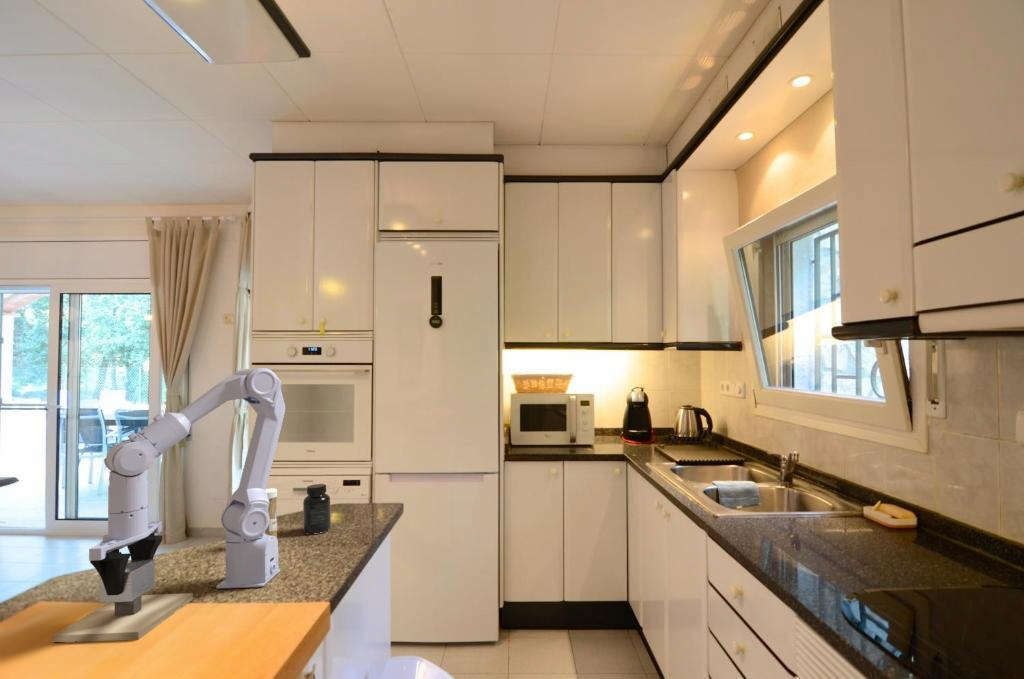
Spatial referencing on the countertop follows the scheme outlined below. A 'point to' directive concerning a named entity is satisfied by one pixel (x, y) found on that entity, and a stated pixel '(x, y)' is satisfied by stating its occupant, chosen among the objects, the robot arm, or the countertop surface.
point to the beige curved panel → (124, 619)
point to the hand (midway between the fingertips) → (128, 586)
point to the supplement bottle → (316, 509)
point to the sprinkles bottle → (272, 512)
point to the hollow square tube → (132, 581)
